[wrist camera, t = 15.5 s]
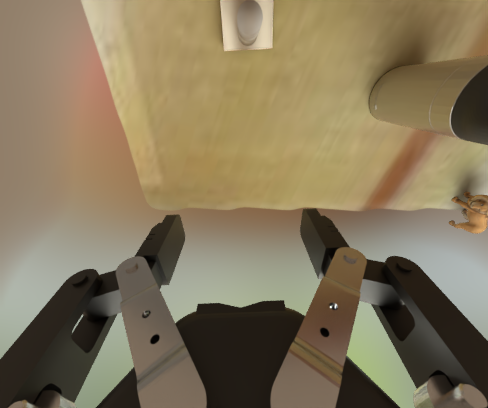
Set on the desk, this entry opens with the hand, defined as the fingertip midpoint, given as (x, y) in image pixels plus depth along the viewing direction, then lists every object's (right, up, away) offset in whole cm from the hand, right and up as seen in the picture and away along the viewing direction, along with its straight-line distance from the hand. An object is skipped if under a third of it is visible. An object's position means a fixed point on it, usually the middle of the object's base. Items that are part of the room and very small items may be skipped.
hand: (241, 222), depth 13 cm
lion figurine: (+57, +1, +38) cm, 68 cm away
